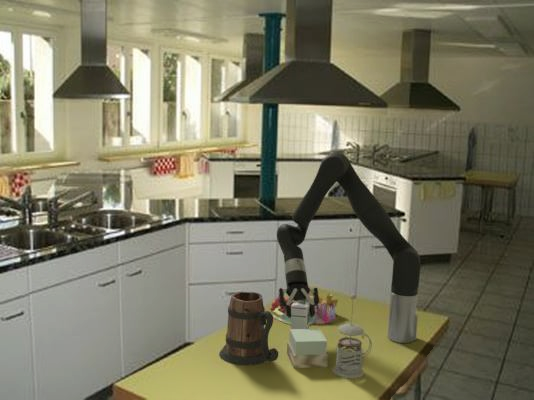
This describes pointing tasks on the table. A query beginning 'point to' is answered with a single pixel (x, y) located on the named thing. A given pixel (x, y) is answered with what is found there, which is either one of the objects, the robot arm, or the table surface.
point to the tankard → (248, 331)
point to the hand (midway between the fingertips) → (301, 316)
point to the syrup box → (300, 314)
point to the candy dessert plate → (322, 312)
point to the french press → (348, 365)
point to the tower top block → (308, 342)
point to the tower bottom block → (306, 359)
